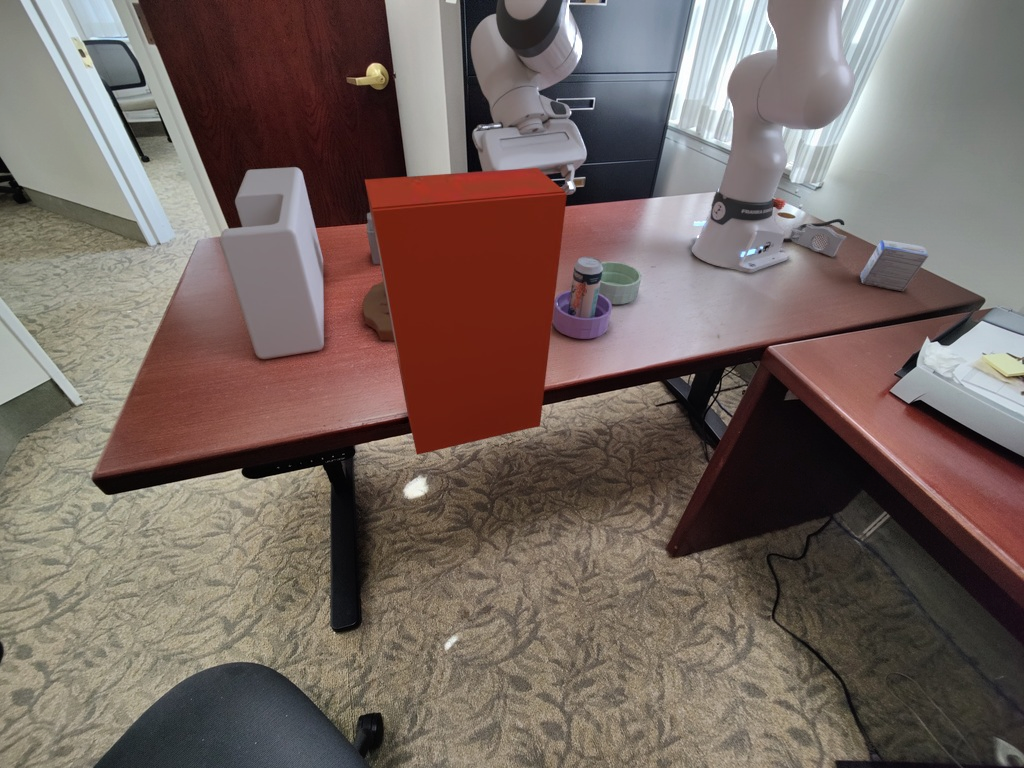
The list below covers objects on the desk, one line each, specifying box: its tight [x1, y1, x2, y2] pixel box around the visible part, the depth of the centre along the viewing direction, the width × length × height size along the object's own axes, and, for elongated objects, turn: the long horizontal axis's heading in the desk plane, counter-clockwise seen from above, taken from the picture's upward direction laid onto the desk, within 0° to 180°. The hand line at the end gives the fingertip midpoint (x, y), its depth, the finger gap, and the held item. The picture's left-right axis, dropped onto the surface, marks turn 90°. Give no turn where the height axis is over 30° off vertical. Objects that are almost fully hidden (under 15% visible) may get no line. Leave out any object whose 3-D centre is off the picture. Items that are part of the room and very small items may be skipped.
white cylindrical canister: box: [568, 256, 603, 318], centre depth 77 cm, size 5×5×12 cm
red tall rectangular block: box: [364, 168, 568, 456], centre depth 51 cm, size 8×17×32 cm, turn 109°
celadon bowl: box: [599, 261, 642, 305], centre depth 88 cm, size 10×10×4 cm
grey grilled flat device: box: [788, 222, 847, 258], centre depth 108 cm, size 12×2×6 cm, turn 34°
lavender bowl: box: [552, 289, 613, 340], centre depth 79 cm, size 10×10×4 cm
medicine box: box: [859, 239, 929, 292], centre depth 94 cm, size 8×4×9 cm, turn 65°
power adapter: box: [366, 210, 380, 265], centre depth 94 cm, size 3×5×12 cm, turn 15°
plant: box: [362, 281, 394, 342], centre depth 79 cm, size 20×20×11 cm
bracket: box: [219, 166, 325, 360], centre depth 79 cm, size 30×10×30 cm, turn 18°
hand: (549, 197), depth 76 cm, fingers open, 8 cm apart
